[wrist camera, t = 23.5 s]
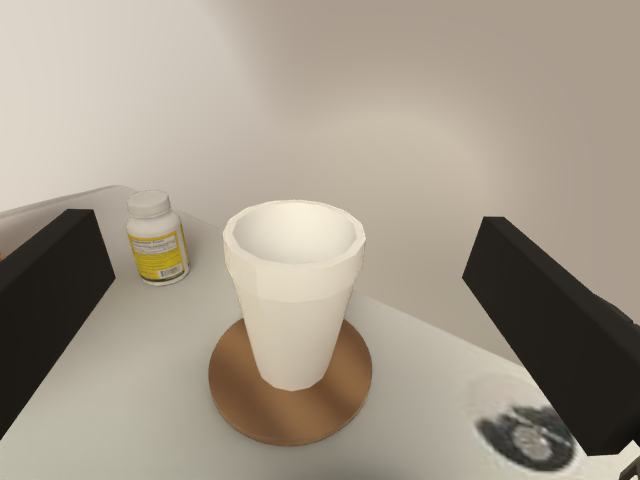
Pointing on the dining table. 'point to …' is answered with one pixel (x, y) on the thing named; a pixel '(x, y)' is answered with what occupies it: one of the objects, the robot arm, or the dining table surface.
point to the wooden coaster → (288, 406)
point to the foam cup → (293, 284)
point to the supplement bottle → (156, 238)
